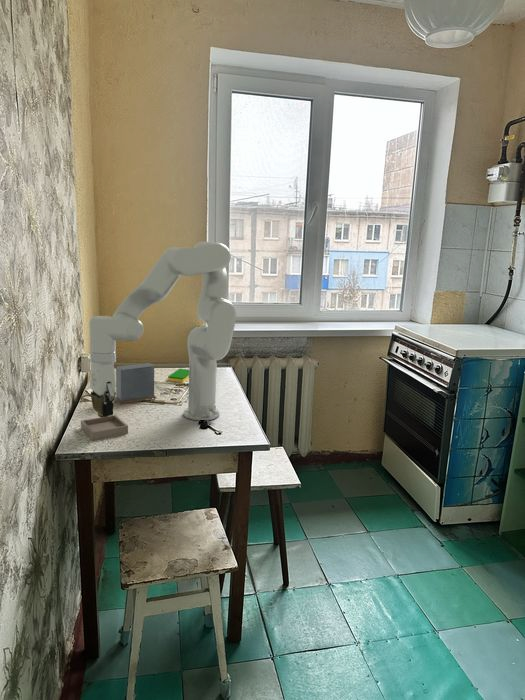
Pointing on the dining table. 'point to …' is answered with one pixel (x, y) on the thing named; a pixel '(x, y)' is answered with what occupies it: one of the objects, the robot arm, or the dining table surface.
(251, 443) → the dining table surface
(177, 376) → the dish sponge
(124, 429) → the tray
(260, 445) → the dining table surface
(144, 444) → the dining table surface
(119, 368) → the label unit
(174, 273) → the robot arm
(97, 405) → the cup
